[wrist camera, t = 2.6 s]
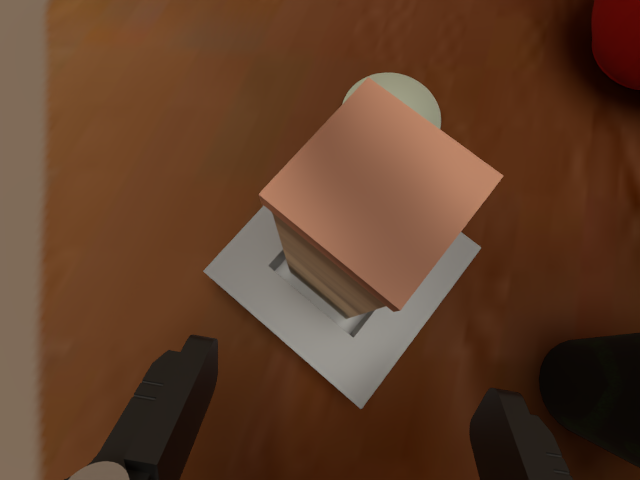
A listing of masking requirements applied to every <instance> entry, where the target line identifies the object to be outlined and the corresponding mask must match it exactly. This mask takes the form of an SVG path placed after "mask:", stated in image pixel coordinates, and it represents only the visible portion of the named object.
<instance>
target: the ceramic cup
mask: <svg viewBox="0 0 640 480" xmlns="http://www.w3.org/2000/svg"><path fill="white" fill-rule="evenodd" d="M591 28H592V52H593V55H594V58H595V60H596V62H597V64H598V66H599V67H600V68H601V70H602V71H603V72H604V73H605V74H606V75H607V76H608V77H609V78H610V79H612V80H613V81H615V82H616V83H618V84H620V85H622V86H625V87H627V88H631V89H634V90H640V0H594V5H593V11H592V19H591Z"/></svg>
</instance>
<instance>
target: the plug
mask: <svg viewBox="0 0 640 480" xmlns="http://www.w3.org/2000/svg"><path fill="white" fill-rule="evenodd" d="M502 177H503V175H502V174H500V173H499V172H497V171H496V170H495V169H493V168H492V167H491V166H489V165H488V164H487V163H485V162H484V161H482V160H481V159H480V158H478V157H477V156H476V155H474V154H473V153H471V152H470V151H469V150H467V149H466V148H465V147H463V146H462V145H461V144H459V143H458V142H456V141H455V140H454V139H452V138H451V137H450V136H448V135H447V134H446V133H444V132H443V131H441V130H440V129H439V128H437V127H436V126H435V125H433V124H432V123H430V122H429V121H428V120H426V119H425V118H424V117H422V116H421V115H420V114H418V113H417V112H415V111H414V110H413V109H411V108H410V107H409V106H407V105H406V104H404V103H403V102H402V101H400V100H399V99H398V98H396V97H395V96H394V95H392V94H391V93H389V92H388V91H387V90H385V89H384V88H383V87H381V86H380V85H378V84H377V83H376V82H374V81H373V80H372V79H370V78H369V77H368V78H367V79H366V80H365V81H364V82H363V83H362V84H361V85H360V86H359V87H358V88H357V89H356V91H355V92H354V93H353V94H352V95H351V96H350V97H349V98H348V99H347V100H346V101H345V102H344V103H343V104H342V106H341V107H340V108H339V109H338V110H337V111H336V112H335V113H334V114H333V115H332V116H331V117H330V118H329V119H328V121H327V122H326V123H325V124H324V125H323V126H322V127H321V128H320V129H319V130H318V131H317V132H316V133H315V134H314V135H313V137H312V138H311V139H310V140H309V141H308V142H307V143H306V144H305V145H304V146H303V147H302V148H301V149H300V150H299V152H298V153H297V154H296V155H295V156H294V157H293V158H292V159H291V160H290V161H289V162H288V163H287V164H286V165H285V167H284V168H283V169H282V170H281V171H280V172H279V173H278V174H277V175H276V176H275V177H274V178H273V179H272V180H271V181H270V183H269V184H268V185H267V186H266V187H265V188H264V189H263V190H262V191H261V192H260V193H259V197H260V200H261V203H262V204H263V205H264V206H265V207H266V208H268V209H269V210H270V211H271V212H272V214H273V217H274V221H275V224H276V227H277V231H278V234H279V237H280V240H281V244H282V247H283V250H284V254H285V257H286V260H287V264H288V267H289V270H290V272H291V273H292V274H293V275H294V276H295V277H297V278H298V279H299V280H300V281H301V282H303V283H304V284H305V285H306V286H307V287H309V288H310V289H311V290H312V291H313V292H314V293H316V294H317V295H318V296H319V297H320V298H322V299H323V300H324V301H325V302H326V303H328V304H329V305H330V306H331V307H332V308H333V309H335V310H336V311H337V312H338V313H339V314H341V315H342V316H343V317H344V318H345V319H348V318H351V317H354V316H358V315H361V314H364V313H367V312H370V311H373V310H376V309H379V308H382V307H386V306H387V307H388V308H389V309H390V310H392V311H393V312H396V311H400V310H401V309H402V308H403V307H404V305H405V304H406V303H407V301H408V300H409V299H410V297H411V296H412V295H413V294H414V292H415V291H416V290H417V288H418V287H419V286H420V284H421V283H422V282H423V280H424V279H425V278H426V277H427V275H428V274H429V273H430V271H431V270H432V269H433V267H434V266H435V265H436V263H437V262H438V261H439V260H440V258H441V257H442V256H443V254H444V253H445V252H446V250H447V249H448V248H449V247H450V245H451V244H452V243H453V241H454V240H455V239H456V237H457V236H458V235H459V233H460V232H461V231H462V230H463V228H464V227H465V226H466V224H467V223H468V222H469V220H470V219H471V218H472V217H473V215H474V214H475V213H476V211H477V210H478V209H479V207H480V206H481V205H482V203H483V202H484V201H485V200H486V198H487V197H488V196H489V194H490V193H491V192H492V190H493V189H494V188H495V187H496V185H497V184H498V183H499V181H500V180H501V179H502Z"/></svg>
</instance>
